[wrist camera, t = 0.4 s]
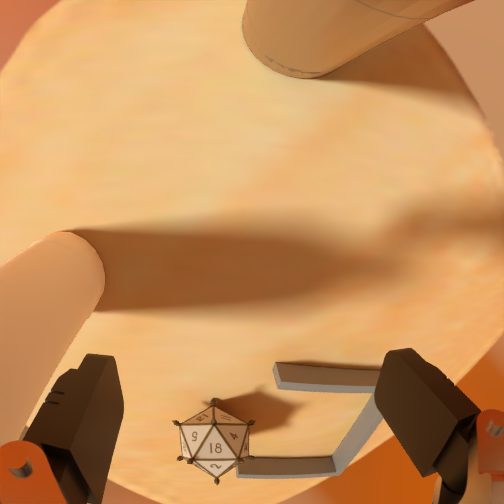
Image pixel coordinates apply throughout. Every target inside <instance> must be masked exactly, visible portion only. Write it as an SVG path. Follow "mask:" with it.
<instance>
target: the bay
mask: <svg viewBox="0 0 504 504" xmlns="http://www.w3.org/2000/svg"><path fill="white" fill-rule="evenodd" d="M380 372H381V370H358V369H341V368H327V367H315V366H304V365H294V364H285V363H276V362H275V365H274V367H273V374H274V377H275V381H276V384H277V388H278V389H282V390H295V391H310V392H332V393H373V395H372V396H371V398H370V400H369V401H368V403H367V404H366V406H365V408H364V409H363V411H362V412H361V414H360V416H359V417H358V419H357V420H356V422H355V423H354V425H353V426H352V428H351V429H350V431H349V432H348V434H347V435H346V437H345V438H344V439H343V441H342V442H341V444H340V445H339V447H338V448H337V449H336V451H335V452H334V453H333V455H332V456H331V457H324V458H255V460H250V459H249V458H247V459H246V460H245V461H244V463H242V464H238V465H237V466H236V475H237V478H255V479H289V478H312V477H325V476H336V475H340V474H341V473H342V472H343V471H344V469H345V468H346V467H347V466H348V464H349V463H350V462H351V461H352V459H353V458H354V457H355V456H356V454H357V453H358V452H359V451H360V449H361V448H362V447H363V445H364V444H365V443H366V441H367V440H368V439H369V437H370V436H371V434H372V433H373V432H374V430H375V429H376V427H377V426H378V425H379V423H380V422H381V420H382V419H383V416H382V415H381V413H380V412H379V410H378V409H377V407H376V404H375V400H374V392H375V388H376V384H377V381H378V378H379V375H380Z"/></svg>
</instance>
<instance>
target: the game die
mask: <svg viewBox="0 0 504 504" xmlns="http://www.w3.org/2000/svg"><path fill="white" fill-rule="evenodd" d="M215 402H216V401H215V400H214V398H213V399H212V400H211V405H212V406H211V407H209V408H207V409H206V410H204V411H202V412H200V413H199V414H197V415H195V416H193V417H192V418H190V419H188V420H186V421H185V422H183V423H179V421H177V420H176V421H172V422H173V423H174V425H176V426H179V429H180V440H181V450H182V456H179V457H178V458H177V460H179V461H181V460H183V458H184V459H185V460H187V464H193V465H195V466H196V467H198V468H200V469H201V470H203V471H205V472H206V473H208V474H210V475H211V476H213V477H215V483H216V485H218V484H219V479H218V478H219V477H220V476H222V475H223V474H225V473H226V472H228V471H229V470H231V469H232V468H234V467H235V466H237V465H238V464H242V463H244V461H245V460H246V459H247V458H249V459H250V460H255V458H254V456H252V455H251V456H249V426H250V425H253V424H254V423H255V421H256V420H251V421H249V423H246V422H244V421H242V420H240V419H238V418H236V417H234V416H232V415H231V414H229V413H227V412H225V411H223V410H221V409H219V408H218V407H216V406H215V404H216V403H215Z"/></svg>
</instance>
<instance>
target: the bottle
mask: <svg viewBox="0 0 504 504" xmlns="http://www.w3.org/2000/svg"><path fill="white" fill-rule="evenodd" d="M105 279H106V277H105V273H104V268H103V263H102V261H101V259H100V257H99V256H98V254H97V252H96V250H95V249H94V248H93V247H92V246H91V245H90V244H89V243H88V242H87V241H86V240H85V239H84V238H82V237H80V236H78V235H76V234H74V233H72V232H62V231H58V232H55V233H52V234H50V235H47V236H45V237H43V238H40V239H38V240H36V241H35V242H33V243H32V244H31V245H30V246H29V247H28V248H26V249H24V250H23V251H21V252H20V253H18V254H17V255H15V256H14V257H12V258H11V259H9V260H8V261H6V262H5V263H3V264H2V265H0V447H1V446H2V445H4V444H6V443H8V442H11V441H17V440H18V439H19V437H20V435H21V433H22V431H23V429H24V427H25V425H26V423H27V421H28V419H29V417H30V415H31V413H32V411H33V409H34V407H35V405H36V404H37V402H38V400H39V398H40V396H41V394H42V393H43V391H44V389H45V387H46V385H47V384H48V382H49V380H50V378H51V377H52V375H53V373H54V371H55V370H56V368H57V366H58V365H59V363H60V361H61V359H62V358H63V356H64V354H65V353H66V351H67V350H68V348H69V346H70V345H71V343H72V341H73V340H74V338H75V337H76V335H77V333H78V332H79V330H80V329H81V327H82V326H83V324H84V323H85V321H86V320H87V319H88V318H89V317H90V316H91V314H92V313H93V311H94V309H95V307H96V305H97V303H98V301H99V300H100V298H101V296H102V294H103V292H104V287H105Z"/></svg>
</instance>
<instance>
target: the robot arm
mask: <svg viewBox="0 0 504 504" xmlns="http://www.w3.org/2000/svg"><path fill="white" fill-rule="evenodd" d="M471 1H474V0H247V3H246V7H245V11H244V15H243V23H242V29H243V35H244V38H245V41H246V43H247V45H248V47H249V49H250V50H251V51H252V53H253V54H254V55H255V57H257V58H258V59H259V60H260V61H261V62H262V63H263V64H264V65H266V66H268V67H269V68H271V69H272V70H274V71H276V72H279V73H281V74H284V75H287V76H291V77H296V78H313V77H320V76H322V75H325V74H328V73H330V72H332V71H333V70H335V69H337V68H338V67H340V66H342V65H343V64H345V63H347V62H349V61H351V60H353V59H354V58H356V57H358V56H360V55H361V54H363V53H365V52H367V51H369V50H370V49H372V48H374V47H376V46H378V45H380V44H382V43H383V42H385V41H387V40H389V39H391V38H393V37H395V36H397V35H399V34H401V33H403V32H405V31H407V30H409V29H411V28H413V27H415V26H417V25H419V24H421V23H423V22H426V21H428V20H430V19H432V18H434V17H436V16H439V15H440V14H443V13H445V12H447V11H450V10H452V9H454V8H457V7H459V6H462V5H464V4H466V3H469V2H471ZM374 400H375V404H376V407H377V409H378V410H379V412H380V413H381V415H382V416H383V418H384V419H385V421H386V422H387V424H388V425H389V427H390V428H391V430H392V431H393V433H394V434H395V436H396V437H397V439H398V440H399V442H400V443H401V445H402V446H403V448H404V449H405V451H406V453H407V454H408V455H409V457H410V459H411V460H412V462H413V463H414V465H415V466H416V468H417V469H418V471H419V472H420V474H421V476H422V477H426V476H428V475H431V474H433V473H436V472H438V473H439V475H440V476H439V477H438V479H437V481H436V484H435V490H434V495H433V501H432V504H504V412H502V411H500V410H495V409H488V410H484V411H481V410H480V409H479V408H478V407H477V406H476V405H475V404H474V403H473V402H472V401H471V400H470V399H469V398H468V397H467V396H466V395H465V394H464V393H463V392H462V391H461V390H460V389H459V388H458V387H457V386H454V383H453V382H452V381H451V380H450V379H449V378H448V379H447V376H446V375H445V374H444V373H442V372H441V371H440V370H439V369H438V368H437V367H435V366H434V365H432V364H430V363H428V362H426V361H425V360H424V359H423V358H422V357H421V356H420V355H419V354H418V353H417V352H416V351H415V350H413V349H412V348H405V349H398V350H391V351H389V352H388V353H387V354H386V356H385V358H384V362H383V365H382V368H381V372H380V375H379V378H378V381H377V384H376V388H375V392H374ZM123 413H124V401H123V395H122V390H121V386H120V381H119V376H118V371H117V365H116V361H115V358H114V357H113V356H108V355H98V354H89V353H88V354H87V355H86V356H85V358H84V359H83V361H82V363H81V365H80V366H79V368H78V369H69V370H68V371H67V372H65V373H64V374H63V375H61V376H60V377H59V378H58V379H57V381H56V382H55V384H54V386H53V387H52V389H51V393H50V392H49V394H48V396H47V397H46V399H45V403H43V404H42V406H41V408H40V409H39V411H38V413H37V415H36V417H35V418H34V420H33V422H32V424H31V426H30V427H29V429H28V431H27V433H26V435H25V437H24V438H23V440H17V441H11V442H8V443H6V444H4V445H2V446H1V447H0V504H87V503H91V504H101V502H102V498H103V494H104V489H105V485H106V481H107V476H108V472H109V468H110V464H111V460H112V456H113V452H114V448H115V445H116V441H117V437H118V433H119V430H120V426H121V422H122V419H123Z"/></svg>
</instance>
